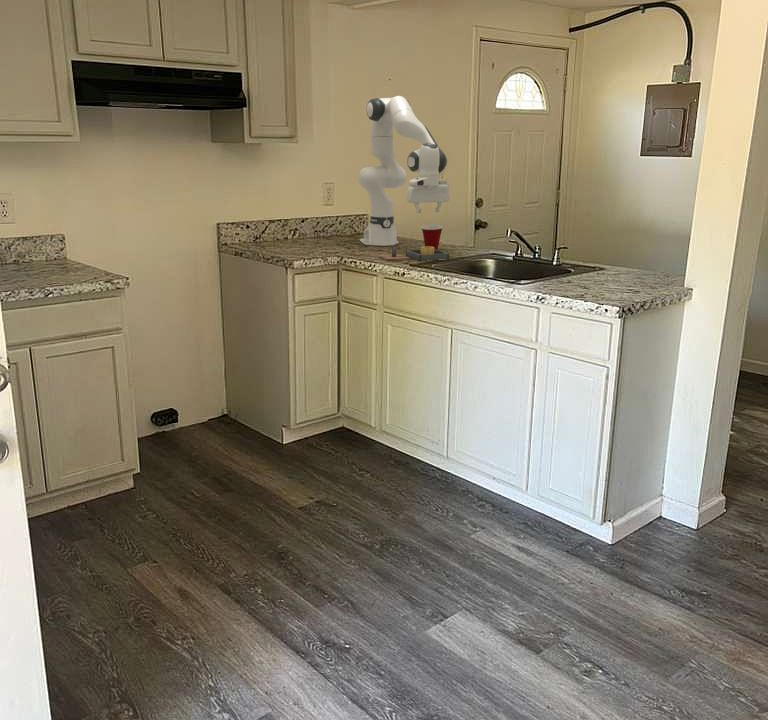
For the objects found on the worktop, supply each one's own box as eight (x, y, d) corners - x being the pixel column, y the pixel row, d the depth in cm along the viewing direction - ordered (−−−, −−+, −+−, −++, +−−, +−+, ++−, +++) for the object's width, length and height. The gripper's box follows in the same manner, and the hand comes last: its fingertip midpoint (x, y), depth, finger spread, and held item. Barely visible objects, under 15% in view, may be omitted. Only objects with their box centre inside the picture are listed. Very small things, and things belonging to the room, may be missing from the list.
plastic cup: (415, 250, 374) (416, 225, 371) (432, 248, 381) (433, 224, 377) (429, 253, 366) (430, 228, 362) (446, 251, 372) (447, 226, 369)
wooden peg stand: (378, 257, 352) (378, 243, 350) (399, 256, 357) (400, 242, 355) (388, 261, 343) (388, 247, 341) (410, 259, 347) (410, 246, 345)
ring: (418, 256, 353) (418, 246, 352) (430, 255, 356) (430, 245, 354) (424, 258, 348) (424, 248, 347) (436, 257, 350) (436, 247, 349)
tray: (405, 256, 356) (405, 250, 355) (433, 254, 361) (434, 248, 360) (419, 261, 343) (420, 255, 342) (448, 259, 348) (449, 253, 348)
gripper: (445, 180, 349) (444, 210, 353) (405, 181, 341) (405, 212, 345) (452, 181, 343) (451, 212, 347) (411, 182, 335) (411, 213, 339)
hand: (427, 212), depth 346 cm, fingers open, 8 cm apart
